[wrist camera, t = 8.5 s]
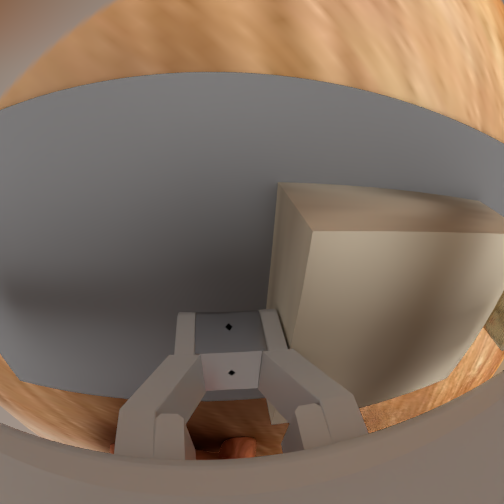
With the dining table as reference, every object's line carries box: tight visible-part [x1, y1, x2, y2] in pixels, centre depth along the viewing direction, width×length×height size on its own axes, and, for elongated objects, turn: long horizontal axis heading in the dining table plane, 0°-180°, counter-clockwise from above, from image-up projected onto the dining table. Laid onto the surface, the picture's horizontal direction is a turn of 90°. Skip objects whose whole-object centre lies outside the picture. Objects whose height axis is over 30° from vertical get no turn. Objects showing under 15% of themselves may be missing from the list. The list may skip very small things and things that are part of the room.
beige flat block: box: [266, 182, 504, 425], centre depth 9 cm, size 9×8×3 cm
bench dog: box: [483, 291, 504, 351], centre depth 10 cm, size 3×3×4 cm
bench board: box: [0, 72, 504, 401], centre depth 10 cm, size 30×14×2 cm, turn 87°
